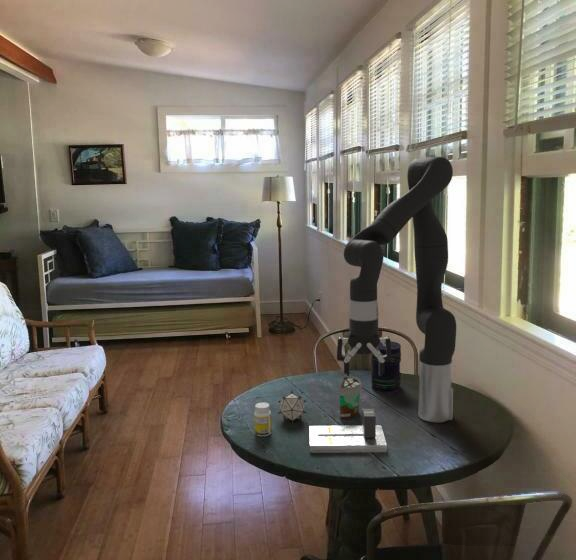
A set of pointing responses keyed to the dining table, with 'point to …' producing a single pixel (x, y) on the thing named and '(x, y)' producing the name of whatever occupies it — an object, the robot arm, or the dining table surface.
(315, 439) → the console board
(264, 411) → the supplement bottle
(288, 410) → the game die
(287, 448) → the dining table surface
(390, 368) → the storage jar
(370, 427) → the fader knob
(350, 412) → the food container
